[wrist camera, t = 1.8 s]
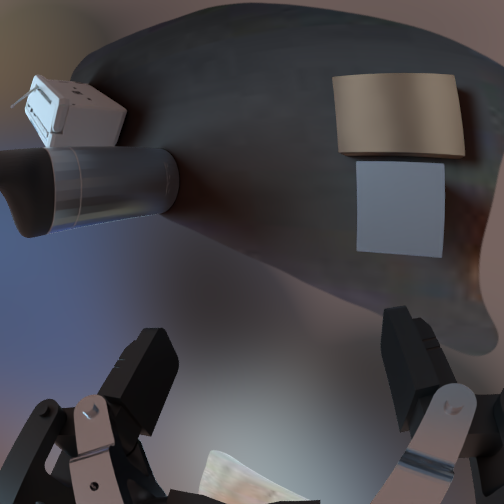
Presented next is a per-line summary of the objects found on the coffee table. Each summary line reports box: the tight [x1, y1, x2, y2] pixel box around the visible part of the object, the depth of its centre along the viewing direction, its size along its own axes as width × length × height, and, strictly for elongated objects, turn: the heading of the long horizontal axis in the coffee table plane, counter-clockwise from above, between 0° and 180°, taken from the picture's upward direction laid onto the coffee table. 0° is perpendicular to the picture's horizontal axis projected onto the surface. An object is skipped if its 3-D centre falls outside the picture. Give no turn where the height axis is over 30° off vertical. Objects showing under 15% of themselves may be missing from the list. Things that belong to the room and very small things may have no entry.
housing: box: [356, 161, 445, 258], centre depth 18 cm, size 5×5×12 cm
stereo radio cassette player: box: [11, 75, 127, 147], centre depth 35 cm, size 21×8×20 cm, turn 57°
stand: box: [332, 73, 465, 159], centre depth 21 cm, size 11×7×3 cm, turn 93°
